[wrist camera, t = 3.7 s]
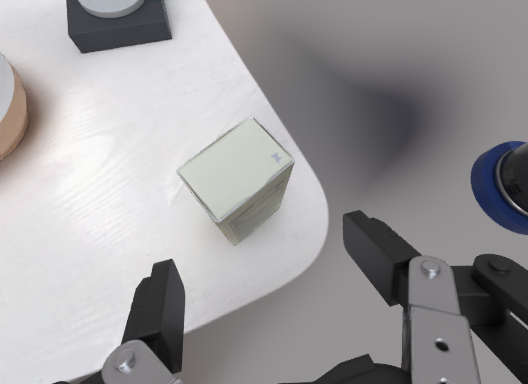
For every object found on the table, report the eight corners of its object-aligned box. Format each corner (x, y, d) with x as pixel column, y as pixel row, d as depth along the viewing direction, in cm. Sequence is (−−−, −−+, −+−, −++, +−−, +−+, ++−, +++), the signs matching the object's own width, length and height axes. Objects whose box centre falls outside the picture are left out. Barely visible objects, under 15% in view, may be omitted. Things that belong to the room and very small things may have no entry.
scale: (159, -21, 38) (150, -49, 34) (172, 38, 34) (163, 13, 31) (77, -10, 36) (60, -38, 33) (81, 53, 33) (63, 28, 30)
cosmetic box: (253, 178, 29) (255, 109, 17) (280, 208, 28) (301, 156, 16) (205, 216, 27) (171, 168, 16) (232, 249, 26) (216, 224, 15)
